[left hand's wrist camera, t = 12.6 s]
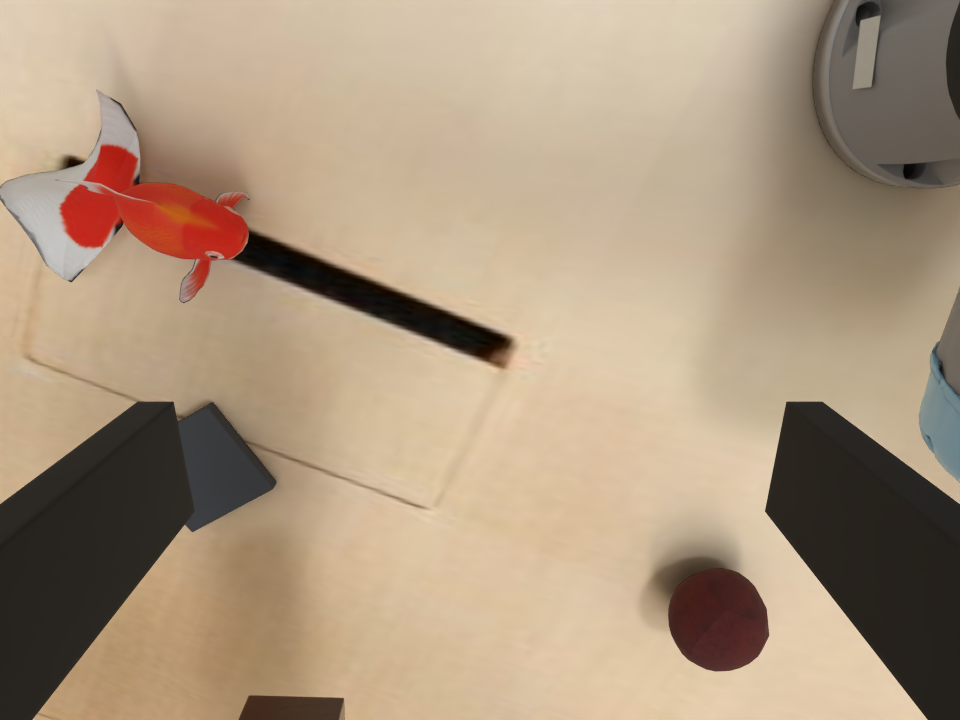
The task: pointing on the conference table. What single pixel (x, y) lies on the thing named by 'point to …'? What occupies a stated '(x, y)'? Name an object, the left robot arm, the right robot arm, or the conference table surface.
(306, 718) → the beam
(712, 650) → the dark red ball
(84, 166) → the fish
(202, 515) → the coaster
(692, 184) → the conference table surface
